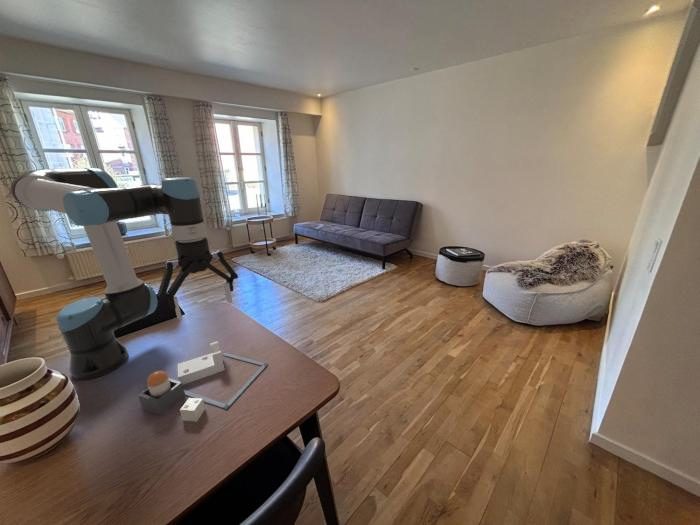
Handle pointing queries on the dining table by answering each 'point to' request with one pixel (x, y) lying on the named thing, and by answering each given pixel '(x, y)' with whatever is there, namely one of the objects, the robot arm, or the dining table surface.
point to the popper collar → (162, 398)
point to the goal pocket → (226, 406)
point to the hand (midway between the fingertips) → (205, 309)
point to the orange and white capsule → (158, 384)
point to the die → (192, 409)
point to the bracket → (201, 366)
